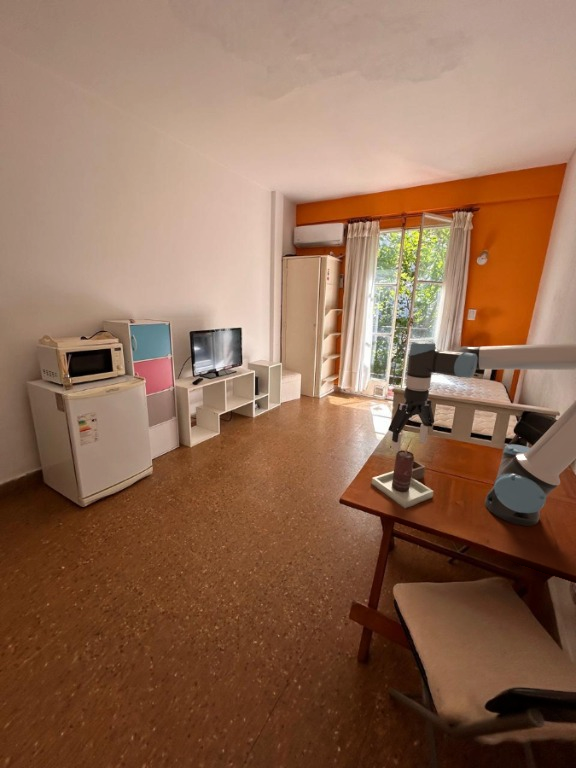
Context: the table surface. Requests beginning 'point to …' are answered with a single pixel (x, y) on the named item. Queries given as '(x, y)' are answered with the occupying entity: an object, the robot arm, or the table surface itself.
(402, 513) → the table surface
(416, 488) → the tray
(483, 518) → the table surface
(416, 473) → the square wooden box
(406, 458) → the can
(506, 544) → the table surface
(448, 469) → the table surface
